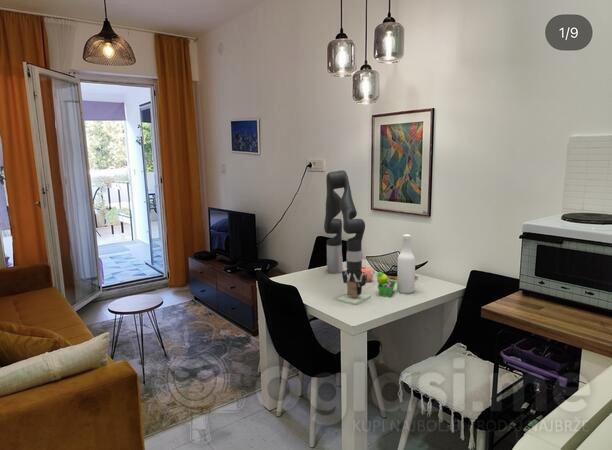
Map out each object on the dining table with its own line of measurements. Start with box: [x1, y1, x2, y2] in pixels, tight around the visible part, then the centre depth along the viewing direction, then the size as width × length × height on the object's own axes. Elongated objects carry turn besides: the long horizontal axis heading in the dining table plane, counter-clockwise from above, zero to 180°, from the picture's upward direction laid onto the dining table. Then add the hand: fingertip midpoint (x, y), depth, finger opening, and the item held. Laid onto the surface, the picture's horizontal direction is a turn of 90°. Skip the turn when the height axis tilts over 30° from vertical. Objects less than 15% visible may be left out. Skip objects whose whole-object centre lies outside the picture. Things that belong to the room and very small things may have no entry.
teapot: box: [361, 264, 375, 283], centre depth 234 cm, size 12×15×8 cm
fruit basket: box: [376, 271, 396, 297], centre depth 211 cm, size 11×9×11 cm
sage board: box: [336, 292, 372, 306], centre depth 204 cm, size 14×11×1 cm
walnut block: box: [346, 280, 361, 297], centre depth 203 cm, size 5×5×7 cm
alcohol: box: [396, 233, 416, 295], centre depth 212 cm, size 9×9×30 cm
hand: (354, 292), depth 203 cm, fingers closed on walnut block, 5 cm apart
